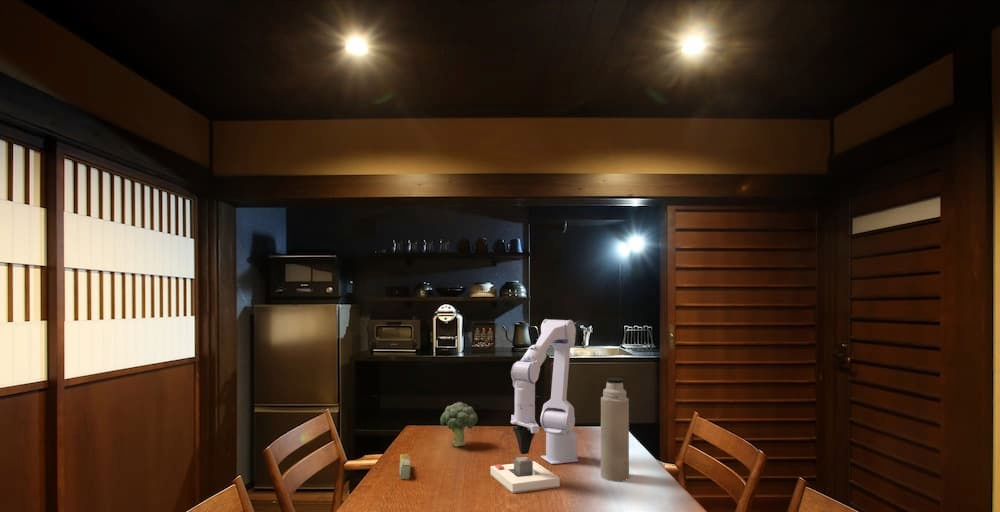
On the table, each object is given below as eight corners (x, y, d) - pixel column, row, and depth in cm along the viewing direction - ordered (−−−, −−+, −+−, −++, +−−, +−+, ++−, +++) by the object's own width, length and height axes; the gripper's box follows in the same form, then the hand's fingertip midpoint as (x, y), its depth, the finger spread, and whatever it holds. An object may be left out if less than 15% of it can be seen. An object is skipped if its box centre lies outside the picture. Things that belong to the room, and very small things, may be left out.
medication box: (410, 479, 159) (410, 465, 159) (400, 480, 158) (401, 465, 159) (408, 466, 171) (408, 453, 171) (399, 467, 170) (399, 453, 170)
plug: (526, 476, 161) (526, 456, 162) (532, 480, 158) (532, 460, 158) (513, 477, 160) (513, 457, 160) (519, 482, 156) (519, 461, 156)
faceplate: (534, 469, 169) (534, 459, 169) (559, 486, 154) (559, 475, 154) (490, 474, 163) (490, 464, 164) (512, 493, 149) (512, 481, 149)
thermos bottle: (603, 471, 168) (603, 375, 170) (630, 474, 165) (630, 377, 167) (598, 479, 160) (598, 379, 162) (627, 482, 158) (627, 381, 160)
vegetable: (434, 444, 195) (435, 400, 195) (465, 439, 202) (466, 396, 203) (452, 452, 185) (453, 406, 186) (484, 447, 192) (485, 402, 193)
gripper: (501, 400, 165) (501, 447, 164) (522, 410, 152) (522, 462, 151) (523, 398, 168) (523, 445, 167) (545, 408, 154) (545, 459, 154)
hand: (524, 453), depth 159 cm, fingers closed
